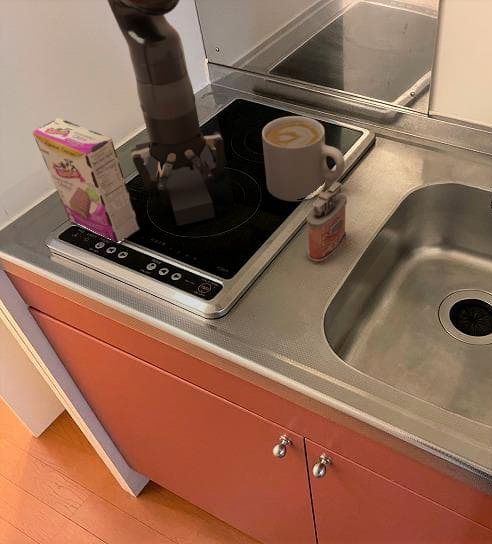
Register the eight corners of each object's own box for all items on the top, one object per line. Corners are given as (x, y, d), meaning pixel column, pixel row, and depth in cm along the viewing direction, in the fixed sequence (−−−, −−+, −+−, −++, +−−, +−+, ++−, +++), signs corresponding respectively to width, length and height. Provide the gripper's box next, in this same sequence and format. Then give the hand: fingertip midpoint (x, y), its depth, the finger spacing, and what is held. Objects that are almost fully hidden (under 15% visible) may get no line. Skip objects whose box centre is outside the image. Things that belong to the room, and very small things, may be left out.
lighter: (322, 267, 82) (321, 212, 75) (303, 259, 83) (300, 204, 76) (351, 236, 87) (352, 182, 80) (332, 229, 88) (332, 175, 81)
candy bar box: (68, 223, 90) (29, 131, 79) (92, 207, 93) (58, 115, 82) (118, 247, 86) (84, 153, 75) (141, 229, 89) (113, 136, 78)
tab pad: (177, 226, 89) (173, 211, 87) (163, 181, 98) (160, 166, 96) (215, 217, 90) (212, 202, 88) (198, 173, 99) (195, 158, 97)
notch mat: (148, 195, 96) (144, 180, 93) (139, 159, 104) (135, 144, 102) (219, 180, 98) (216, 165, 96) (204, 146, 107) (201, 131, 105)
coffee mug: (255, 189, 96) (249, 137, 89) (289, 161, 102) (285, 110, 95) (322, 215, 91) (321, 161, 84) (353, 184, 97) (355, 131, 90)
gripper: (212, 84, 85) (227, 178, 97) (113, 102, 82) (141, 197, 93) (224, 106, 80) (238, 203, 92) (119, 126, 77) (148, 224, 88)
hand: (189, 199), depth 93 cm, fingers closed on tab pad, 6 cm apart
